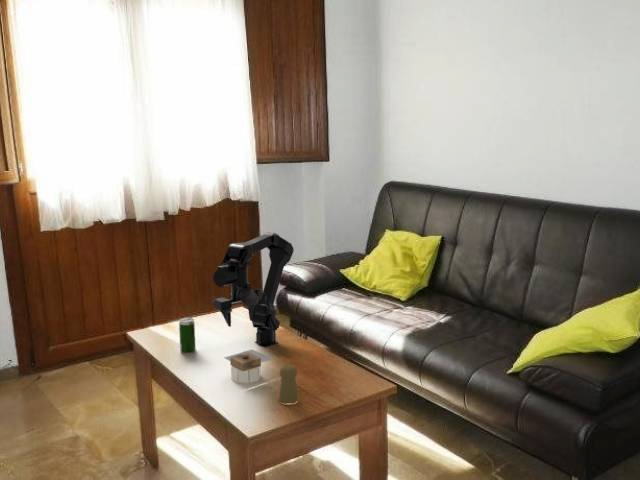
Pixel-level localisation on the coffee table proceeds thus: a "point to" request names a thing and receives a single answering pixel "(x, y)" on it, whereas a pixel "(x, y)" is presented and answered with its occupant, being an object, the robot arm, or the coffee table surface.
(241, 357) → the lid
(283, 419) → the coffee table surface
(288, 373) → the green shaker
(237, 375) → the bowl
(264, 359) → the mat
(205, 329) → the coffee table surface
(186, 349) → the beer can
